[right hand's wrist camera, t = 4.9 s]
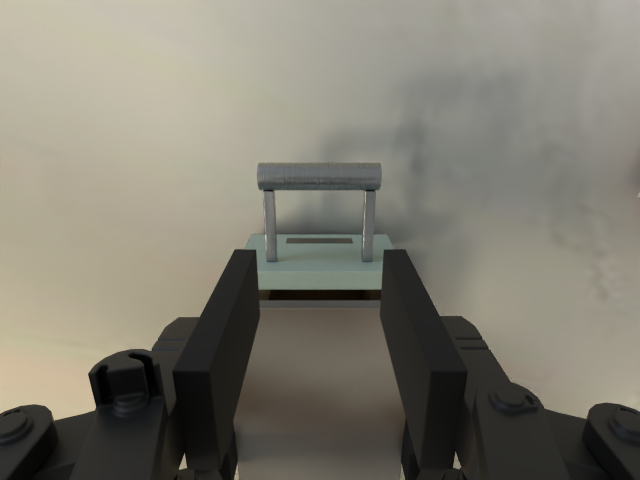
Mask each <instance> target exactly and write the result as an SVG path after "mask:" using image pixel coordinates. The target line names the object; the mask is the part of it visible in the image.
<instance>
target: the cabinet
mask: <svg viewBox="0 0 640 480" xmlns="http://www.w3.org/2000/svg"><path fill="white" fill-rule="evenodd" d="M380 294H381V290H380ZM259 303H260V319H259V323H258V327H257V331H256V335H255V339H254V343H253V346H252V350H251V354H250V358H249V362H248V366H247V370H246V374H245V377H244V381H243V385H242V389H241V393H240V397H239V401H238V405H237V408H236V412H235V416H234V420H233V422H234V431H235V442H236V452H237V463H238V473H239V480H400V473H401V463H402V452H403V441H404V431H405V421H406V416H405V412H404V409H403V405H402V401H401V397H400V393H399V389H398V385H397V381H396V377H395V374H394V370H393V366H392V362H391V358H390V354H389V350H388V346H387V343H386V339H385V335H384V331H383V327H382V323H381V319H380V303H381V300H259Z"/></svg>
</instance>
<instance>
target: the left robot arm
mask: <svg viewBox="0 0 640 480" xmlns="http://www.w3.org/2000/svg"><path fill="white" fill-rule="evenodd" d="M236 467H237V452H236V442H235V431H234V422H233V424H232V428H231V432H230V436H229V440H228V443H227V447H226V451H225V455H224V459H223V463H222V467H221V469H187V468H185V469H182V470H179V469H178V475H179V480H234V476H235V471H236ZM402 467H403V471H404V476H405V480H461V475H462V467H461V468H460V470H459V469H455V468H453V469H419V467H418V463H417V459H416V455H415V451H414V447H413V443H412V440H411V436H410V432H409V428H408V424H407V420H406V421H405V431H404V441H403V452H402Z"/></svg>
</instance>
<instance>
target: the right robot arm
mask: <svg viewBox="0 0 640 480" xmlns="http://www.w3.org/2000/svg"><path fill="white" fill-rule="evenodd" d="M259 319H260V303H259V287H258V270H257V254H256V249H235V250H234V252H233V254H232V256H231V258H230V260H229V262H228V264H227V266H226V268H225V270H224V272H223V273H222V275H221V277H220V279H219V281H218V283H217V285H216V287H215V289H214V291H213V293H212V295H211V297H210V299H209V301H208V303H207V304H206V306H205V308H204V310H203V312H202V314H201V316H200V317H179V318H177V319H176V320H175V321H173V322H172V323H171V324H169V325H168V326H166V327H165V329H164V330H163V332H162V333H161V335H160V337H159V338H158V341H156V343H155V344H154V346H153V348H152V351H148V350H144V349H130V350H126V351H121V352H117V353H115V354H113V355H111V356H108V357H106V358H104V359H103V360H101V361H100V362H99V363H97V364H96V365H94V367H93V368H92V369H91V371H90V372H89V373H88V375H89V379H90V384H91V388H92V392H93V396H94V400H95V404H96V409H95V411H92V412H88V413H85V414H81V415H77V416H73V417H68V418H64V419H60V420H55V421H54V419H53V416H52V412H51V411H50V410H49V409H48V408H47V407H45V406H41V405H35V404H34V405H26V406H20V407H16V408H13V409H10V410H7V411H5V412H3V413H1V414H0V480H179V475H178V469H179V467H180V464H181V461H182V458H183V456H184V453H185V457H186V463H187V469H221V467H222V463H223V459H224V455H225V451H226V447H227V443H228V440H229V436H230V432H231V428H232V424H233V420H234V416H235V412H236V408H237V405H238V401H239V397H240V393H241V389H242V385H243V381H244V377H245V374H246V370H247V366H248V362H249V358H250V354H251V350H252V346H253V343H254V339H255V335H256V331H257V327H258V323H259ZM380 319H381V323H382V327H383V331H384V335H385V339H386V343H387V346H388V350H389V354H390V358H391V362H392V366H393V370H394V374H395V377H396V381H397V385H398V389H399V393H400V397H401V401H402V405H403V409H404V412H405V416H406V420H407V424H408V428H409V432H410V436H411V440H412V443H413V447H414V451H415V455H416V459H417V463H418V467H419V469H453V463H454V457H455V451H456V454H457V456H458V459H459V462H460V465H461V467H462V475H461V480H640V412H639V411H637V410H635V409H632V408H629V407H626V406H623V405H620V404H612V403H601V404H596V405H594V406H593V407H592V408H591V409H590V410H589V412H588V416H587V419H584V418H579V417H575V416H570V415H566V414H562V413H557V412H554V411H551V410H547V409H545V408H544V406H543V405H542V403H541V402H540V400H539V399H538V397H536V396H535V395H534V394H533V393H532V392H530V391H529V390H528V389H526V388H524V387H522V386H520V385H518V384H516V383H512V382H510V380H509V379H508V377H507V375H506V374H505V372H504V371H503V369H502V368H501V366H500V365H499V363H498V361H497V360H496V358H495V357H494V355H493V354H492V352H491V350H489V349H488V346H487V344H486V343H485V341H484V340H482V336H481V335H480V333H479V332H478V330H477V329H476V327H475V326H474V325H473V324H471V323H470V322H469V321H467V320H466V319H465V318H463V317H462V316H439V314H438V312H437V310H436V308H435V306H434V305H433V303H432V301H431V299H430V297H429V295H428V293H427V291H426V289H425V287H424V285H423V283H422V281H421V279H420V277H419V275H418V273H417V272H416V270H415V268H414V266H413V264H412V262H411V260H410V258H409V256H408V254H407V252H406V250H405V249H384V253H383V270H382V287H381V303H380Z"/></svg>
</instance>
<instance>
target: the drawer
mask: <svg viewBox="0 0 640 480" xmlns="http://www.w3.org/2000/svg"><path fill="white" fill-rule="evenodd" d="M257 182H258V188H259V190H264V191H263V203H264V222H265V234H252V235H251V237H250V239H249V241H248V243H247V245H246V248H245V249H256V254H257V270H258V287H259V300H381V294H380V290H381V287H382V270H383V253H384V249H394V248H393V246H392V243H391V241H390V239H389V237H388V235H387V234H374V216H375V195H376V192H375V190H379V189H380V186H381V165H380V163H259V164H258V168H257ZM275 190H364V201H363V227H362V234H277V233H276V209H275Z"/></svg>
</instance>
